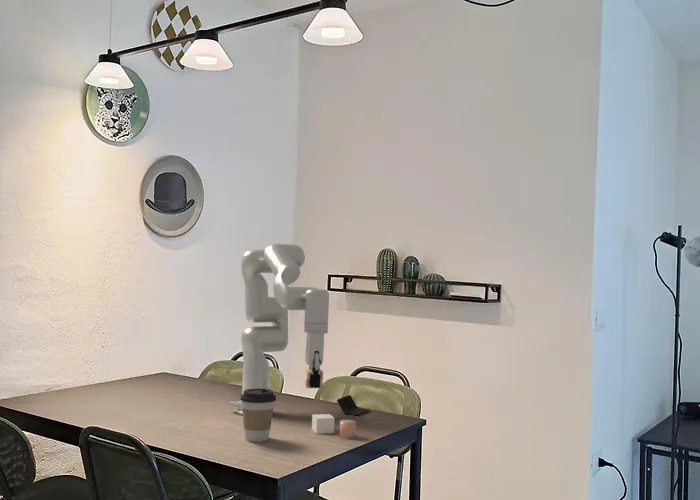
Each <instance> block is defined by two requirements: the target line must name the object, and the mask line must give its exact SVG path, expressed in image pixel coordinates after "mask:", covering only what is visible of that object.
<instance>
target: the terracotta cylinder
mask: <svg viewBox="0 0 700 500" xmlns="http://www.w3.org/2000/svg"><path fill="white" fill-rule="evenodd" d="M339 438H341V439H344V440H351V439H355V438H356V421H355V420H352V419H342V420H340V421H339Z"/></svg>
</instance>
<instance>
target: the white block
mask: <svg viewBox="0 0 700 500" xmlns="http://www.w3.org/2000/svg"><path fill="white" fill-rule="evenodd" d="M311 430H312V431H313V432H314V433H315V434H316V435H317V434H333V433H335V417H334V416H333V415H331V414H330V413H320V414H311Z"/></svg>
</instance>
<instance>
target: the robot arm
mask: <svg viewBox="0 0 700 500" xmlns="http://www.w3.org/2000/svg"><path fill="white" fill-rule="evenodd" d="M305 254H306V253H305V252H304V249H303V248H302V247H301V246H300V245H298V244H286V243H285V244H284V243H274V244H271V245H268V246H267V247H266V248H265V249H249V250H247V251H245V253H244V254H243V255H242V256H241V261H240V262H241V263H240V269H241V274H242V278H243V282H244V303H245V304H244V306H245V307H244V312H245V318H246V321H247V322H250V323H265V324H266V323H271V324H272V325H270V326H267V325H266V326H265V325H261V326H259V325H258V326H251V327H250V326H249V327H246V328H245V329H244V330H243V331H242V333H241V341H240V342H241V348H242V360H243V361H242V385H241V386H242V389H241V392H242V394H241V395H243V392H244V390H247V389H256V388H260V389H269V382H270V381H269V379H270V377H269V376H270V364H269V360H268V359H267V357H266V356H265V354H264V353H272V352H273V353H274V352H282V351H284V350H286V348H287V347H288V344H289V313H288V311H304V322H303V323H304V325H303V326H304V327H303V333H305V334H306V339H305V341H306V342H305V357H304V361H305V363H306V364H307V365H308V366H309V367H308V370H311V374H310V387H320V370H321V365H323V362H324V351H325V350H324V347H325V335H326V334H328V333H329V309H330V308H329V306H330V292H329V291H328V290H327V289H324V288H317V287H311V286H310V287H308V286H291V285H292V284H293V283H295V282H296V281H297V280H299V278H300V275H301V269H300V268H302V267H303V265H305V260H306V256H305ZM262 274H273V275H274V276H275V278H274V281H273V284H272V285H273V286H272V290H273V296H269V285H268V282H267V280H266V279H265V277H264V275H262ZM228 403H229V404H228V405H229V406H228V407H230V408H237V410H236V412H237V413H236V414H239V415H242V416H243V410H242V401H241V400H237V401H233V400H232V401H230V400H229V402H228Z"/></svg>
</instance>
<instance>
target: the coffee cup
mask: <svg viewBox="0 0 700 500" xmlns="http://www.w3.org/2000/svg"><path fill="white" fill-rule="evenodd" d="M239 401H242V410H243V415H242V419H243V428H244V431H243V432H244V437H245V441H247V442H251V443H262V442H266V441H268V440H269V437H270V433H271V427H272V426H271V425H272V419H273V414H274V406H275V402H276V401H277V396H276V395H275V394H274V391H273V390H272V389H269V388H268V389H260V388H256V389H247V390H244V392H243V395H242V394H241V395H240V398H239Z"/></svg>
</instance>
